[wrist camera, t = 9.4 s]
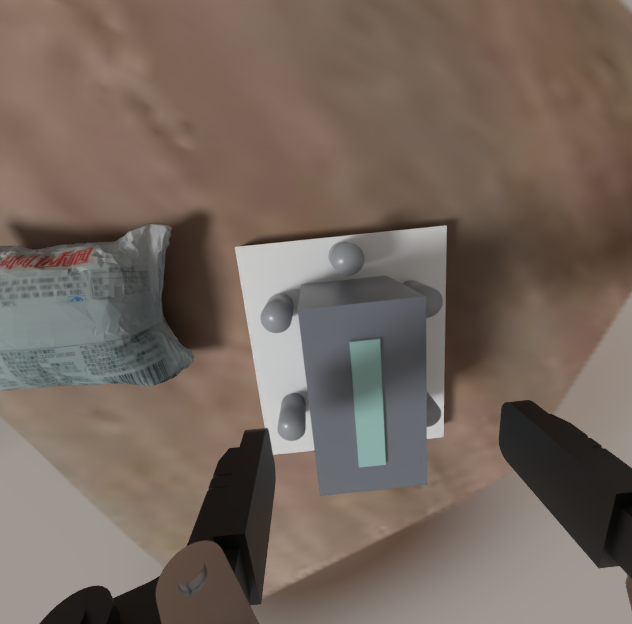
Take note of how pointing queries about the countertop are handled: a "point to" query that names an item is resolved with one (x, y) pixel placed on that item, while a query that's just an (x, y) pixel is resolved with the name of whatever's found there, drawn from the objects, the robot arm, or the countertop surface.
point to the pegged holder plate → (322, 266)
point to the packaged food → (87, 314)
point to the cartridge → (366, 382)
